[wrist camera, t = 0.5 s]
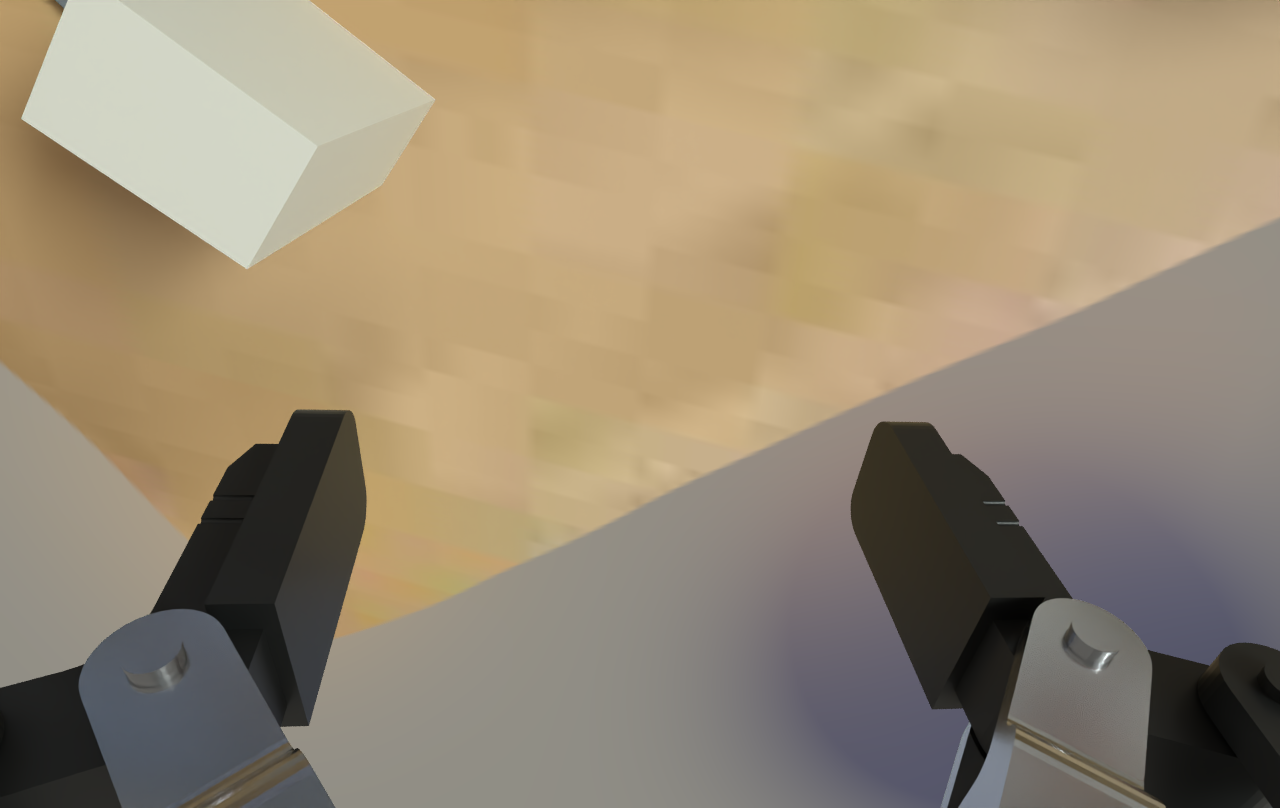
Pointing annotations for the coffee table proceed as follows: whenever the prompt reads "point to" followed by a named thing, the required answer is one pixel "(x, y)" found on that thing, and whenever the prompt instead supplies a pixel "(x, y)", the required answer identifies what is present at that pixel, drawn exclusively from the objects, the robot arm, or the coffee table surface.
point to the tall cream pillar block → (226, 112)
